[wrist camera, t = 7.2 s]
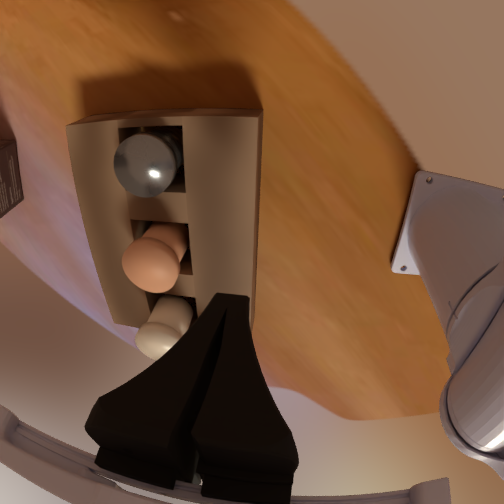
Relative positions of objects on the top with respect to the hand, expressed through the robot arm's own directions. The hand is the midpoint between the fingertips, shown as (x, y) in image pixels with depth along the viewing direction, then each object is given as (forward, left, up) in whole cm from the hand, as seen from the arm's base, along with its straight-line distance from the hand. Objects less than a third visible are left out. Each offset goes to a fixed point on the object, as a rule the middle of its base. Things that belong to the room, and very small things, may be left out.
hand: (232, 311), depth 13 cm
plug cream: (+6, +8, -7) cm, 12 cm away
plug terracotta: (+6, +2, -9) cm, 11 cm away
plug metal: (+6, -4, -10) cm, 12 cm away
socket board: (+6, +2, -10) cm, 12 cm away
